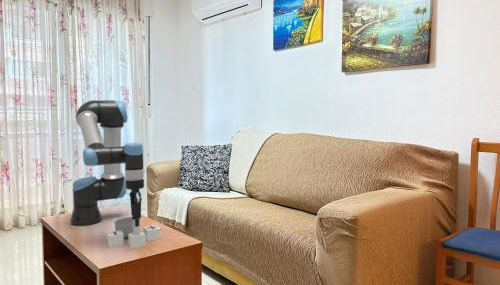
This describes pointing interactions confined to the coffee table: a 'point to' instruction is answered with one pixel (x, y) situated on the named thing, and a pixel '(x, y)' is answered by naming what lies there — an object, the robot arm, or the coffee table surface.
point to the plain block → (137, 240)
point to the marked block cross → (152, 232)
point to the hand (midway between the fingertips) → (136, 233)
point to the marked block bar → (115, 239)
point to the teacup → (124, 225)
